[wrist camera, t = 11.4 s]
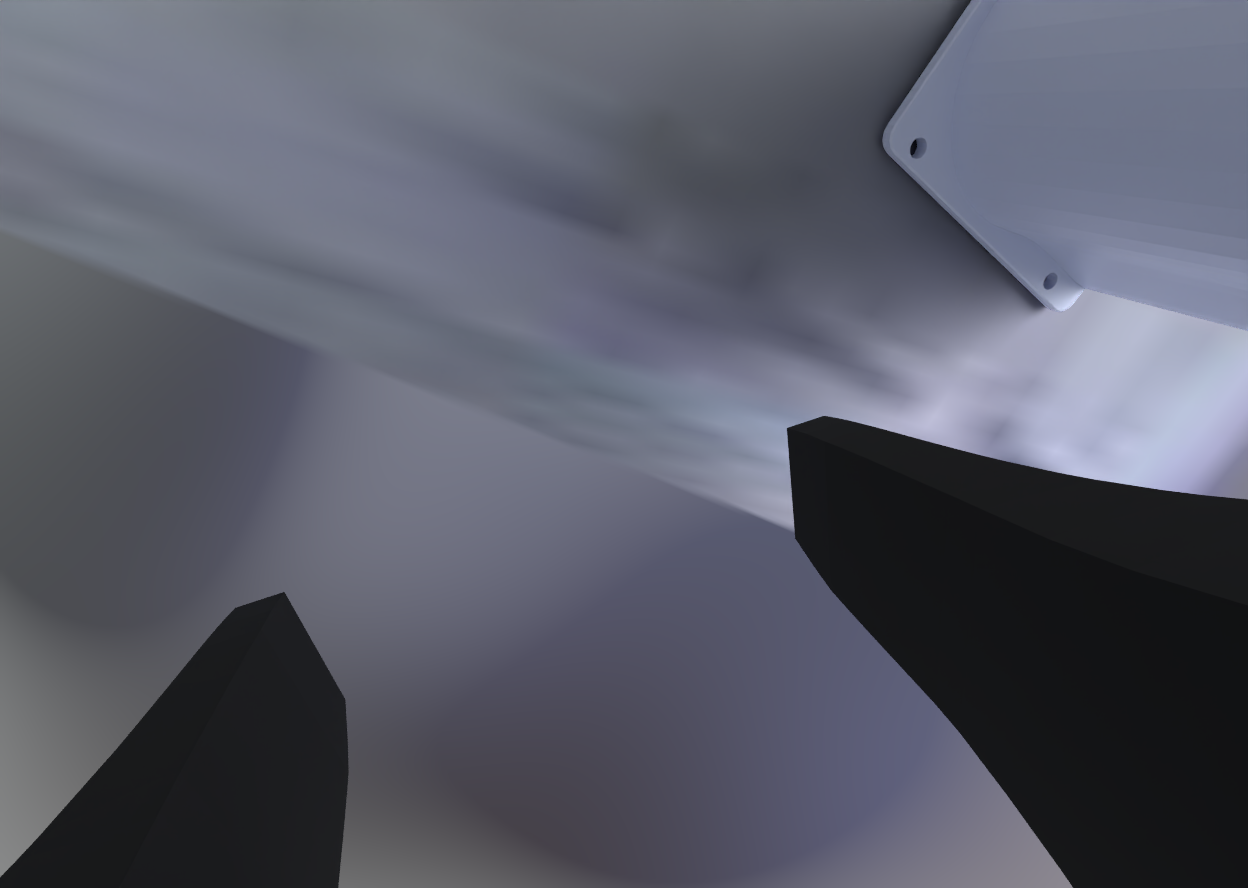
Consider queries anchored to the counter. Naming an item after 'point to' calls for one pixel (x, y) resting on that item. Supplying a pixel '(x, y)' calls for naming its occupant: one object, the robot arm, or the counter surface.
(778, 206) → the counter surface
